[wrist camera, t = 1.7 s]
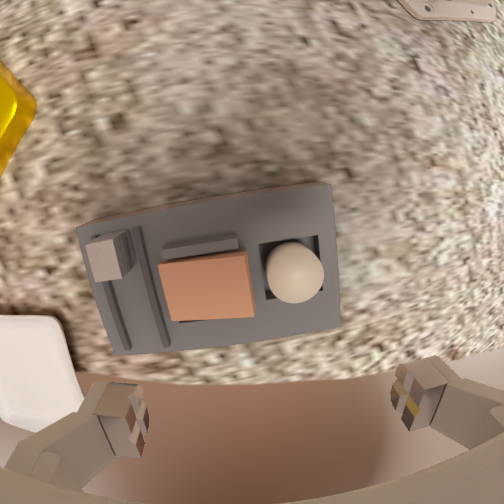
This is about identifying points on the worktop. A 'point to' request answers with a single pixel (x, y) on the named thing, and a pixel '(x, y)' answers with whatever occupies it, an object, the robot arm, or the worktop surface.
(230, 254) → the rocker switch
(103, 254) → the slider lever
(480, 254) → the worktop surface
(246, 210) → the control panel
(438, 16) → the robot arm
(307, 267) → the push button
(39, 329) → the salad plate
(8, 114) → the element tile
